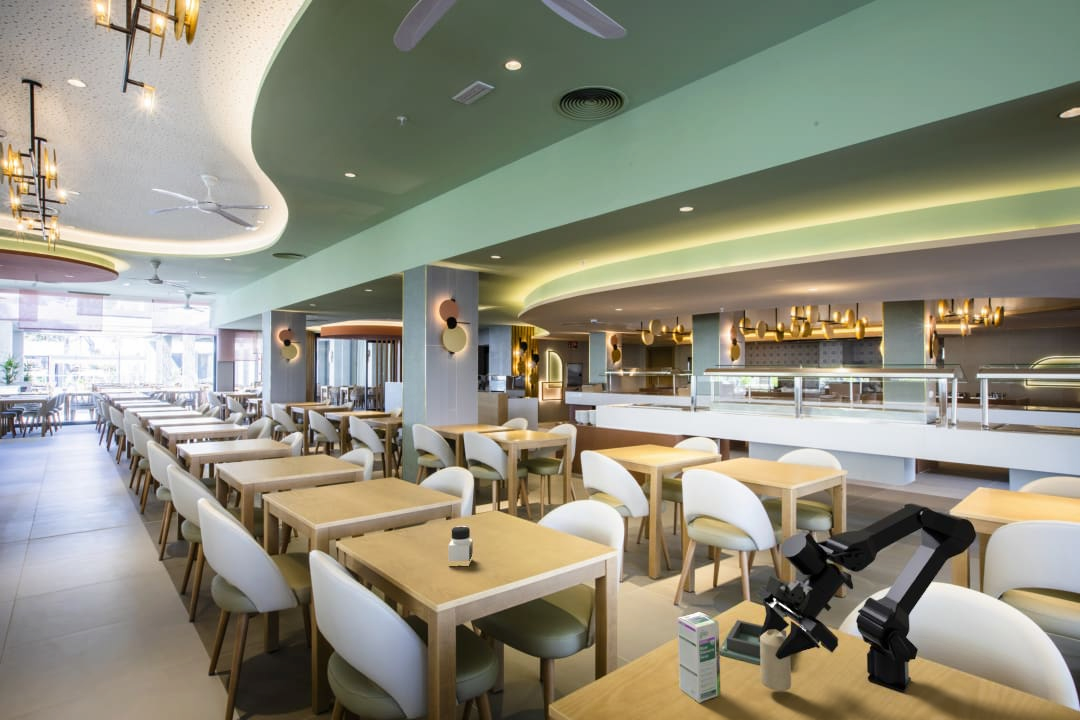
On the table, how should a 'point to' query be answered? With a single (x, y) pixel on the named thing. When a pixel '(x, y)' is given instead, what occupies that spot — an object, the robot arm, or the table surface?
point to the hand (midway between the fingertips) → (768, 650)
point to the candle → (774, 662)
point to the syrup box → (699, 656)
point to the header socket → (743, 642)
